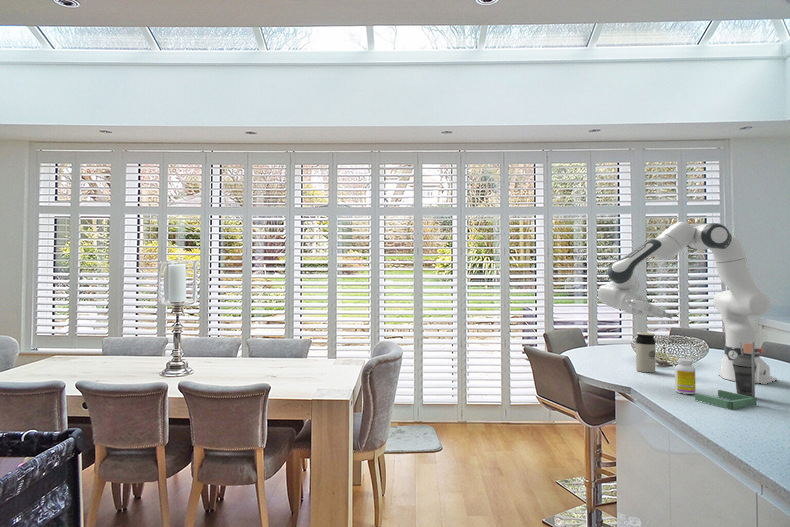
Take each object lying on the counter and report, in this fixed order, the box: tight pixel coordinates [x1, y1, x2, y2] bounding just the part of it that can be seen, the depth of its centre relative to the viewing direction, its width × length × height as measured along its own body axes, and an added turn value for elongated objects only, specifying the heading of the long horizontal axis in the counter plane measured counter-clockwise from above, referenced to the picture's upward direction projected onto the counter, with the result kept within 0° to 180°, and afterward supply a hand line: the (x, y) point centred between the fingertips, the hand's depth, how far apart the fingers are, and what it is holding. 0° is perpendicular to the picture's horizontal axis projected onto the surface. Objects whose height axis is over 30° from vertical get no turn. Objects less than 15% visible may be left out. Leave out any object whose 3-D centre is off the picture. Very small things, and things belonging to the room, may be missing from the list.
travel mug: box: [635, 331, 656, 374], centre depth 218 cm, size 8×8×18 cm
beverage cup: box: [733, 343, 756, 397], centre depth 174 cm, size 7×7×20 cm
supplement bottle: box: [674, 358, 696, 395], centre depth 178 cm, size 7×7×13 cm
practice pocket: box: [694, 342, 757, 410], centre depth 165 cm, size 14×12×22 cm
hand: (667, 315), depth 188 cm, fingers open, 8 cm apart
